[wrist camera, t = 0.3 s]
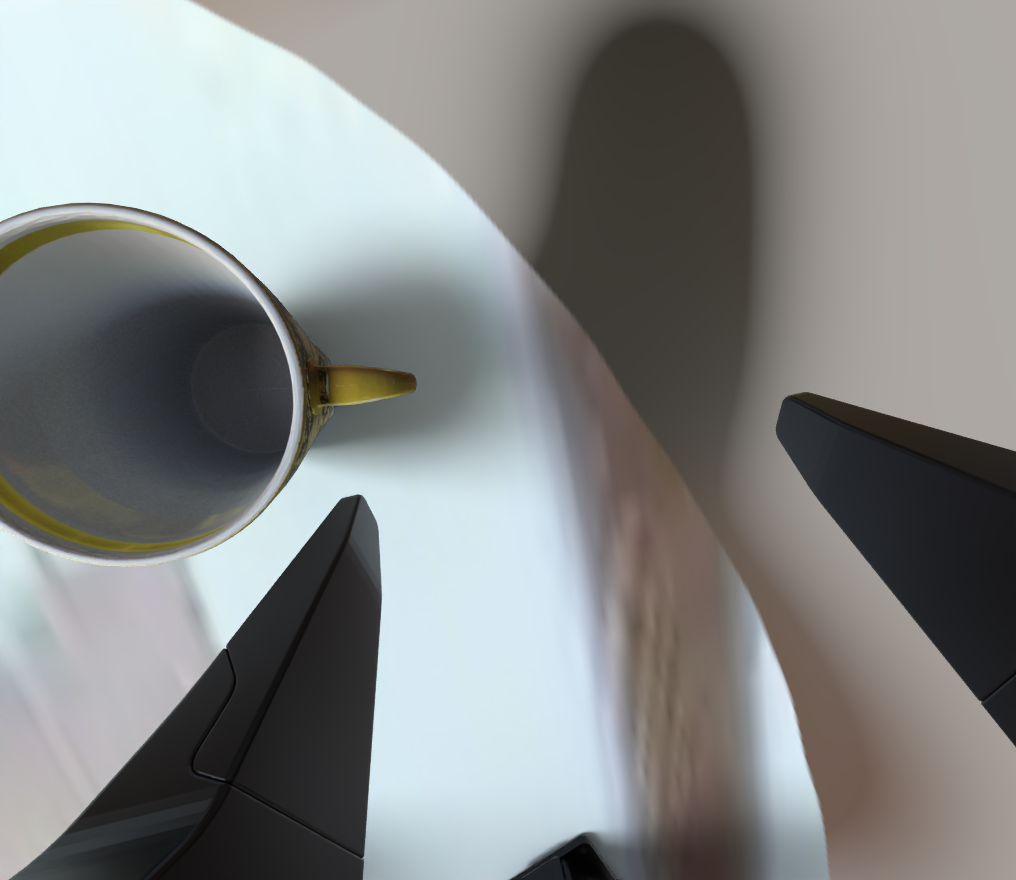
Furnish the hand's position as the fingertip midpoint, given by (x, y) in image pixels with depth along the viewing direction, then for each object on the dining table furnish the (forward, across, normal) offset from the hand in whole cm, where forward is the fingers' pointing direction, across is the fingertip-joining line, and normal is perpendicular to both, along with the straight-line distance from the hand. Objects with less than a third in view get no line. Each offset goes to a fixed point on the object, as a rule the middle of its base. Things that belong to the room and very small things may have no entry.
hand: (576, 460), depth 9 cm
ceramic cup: (+14, +11, +4) cm, 18 cm away
